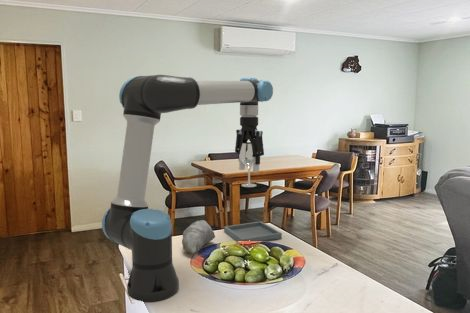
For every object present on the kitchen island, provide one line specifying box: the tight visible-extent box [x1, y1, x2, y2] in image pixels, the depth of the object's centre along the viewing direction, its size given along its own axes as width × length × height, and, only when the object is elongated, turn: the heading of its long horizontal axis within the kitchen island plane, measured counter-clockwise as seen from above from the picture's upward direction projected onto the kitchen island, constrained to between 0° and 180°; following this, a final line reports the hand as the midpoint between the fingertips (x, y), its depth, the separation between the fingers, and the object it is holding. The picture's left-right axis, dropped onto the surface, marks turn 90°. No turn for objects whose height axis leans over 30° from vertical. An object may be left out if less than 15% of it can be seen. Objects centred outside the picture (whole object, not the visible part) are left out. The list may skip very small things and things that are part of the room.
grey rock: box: [181, 219, 216, 255], centre depth 150 cm, size 16×15×10 cm
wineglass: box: [238, 141, 258, 188], centre depth 164 cm, size 8×8×18 cm
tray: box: [223, 220, 283, 242], centre depth 165 cm, size 18×18×2 cm
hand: (249, 170), depth 164 cm, fingers closed on wineglass, 8 cm apart
